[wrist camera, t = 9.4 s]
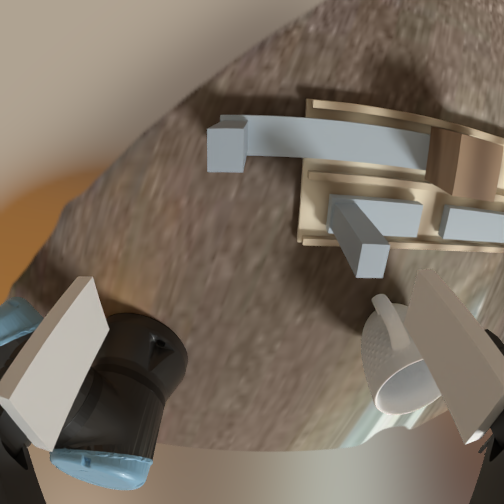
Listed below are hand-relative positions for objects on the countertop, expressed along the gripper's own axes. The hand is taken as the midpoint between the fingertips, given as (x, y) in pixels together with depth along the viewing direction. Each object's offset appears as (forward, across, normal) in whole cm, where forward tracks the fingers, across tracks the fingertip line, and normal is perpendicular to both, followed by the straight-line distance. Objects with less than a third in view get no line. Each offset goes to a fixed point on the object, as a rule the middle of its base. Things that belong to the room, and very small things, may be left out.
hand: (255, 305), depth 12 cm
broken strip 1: (+22, +13, -4) cm, 27 cm away
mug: (+24, +18, -20) cm, 36 cm away
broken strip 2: (+22, +30, -5) cm, 38 cm away
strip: (+22, +12, +4) cm, 26 cm away
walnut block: (+21, +22, +3) cm, 30 cm away
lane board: (+24, +22, -1) cm, 32 cm away
